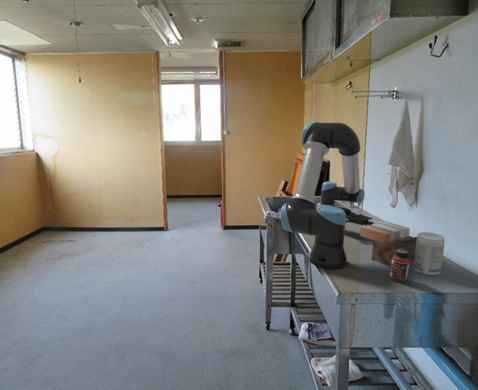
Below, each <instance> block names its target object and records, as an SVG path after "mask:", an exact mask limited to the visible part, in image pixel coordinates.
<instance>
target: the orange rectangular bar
mask: <svg viewBox="0 0 478 390" xmlns="http://www.w3.org/2000/svg"><path fill="white" fill-rule="evenodd" d="M359 232H360V233H359V236H361V237H363V238H365V239H366V238H367V239H369V240H373V241H378V242H381V243H388V242H390V235H391V233H390V232H386V231H383V230H380V229H376V228H373V227H371V226H369V225H367V226H365V225H362V226H360V231H359Z"/></svg>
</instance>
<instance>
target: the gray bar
mask: <svg viewBox="0 0 478 390" xmlns="http://www.w3.org/2000/svg"><path fill="white" fill-rule="evenodd" d="M370 227H373V228H376V229H380V230H383V231H386V232H390V233H391V235H390V240H393V241H395V240H399V239H400V231H401V230H397V229H394V228H390V227H387V226H383V225H380V224H372V225H371V226H370Z"/></svg>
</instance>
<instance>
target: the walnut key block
mask: <svg viewBox="0 0 478 390" xmlns="http://www.w3.org/2000/svg"><path fill="white" fill-rule="evenodd" d="M416 241H417V236H414V237H413V236H410V235H409V237H406V238H401V237H400V239H399V240H395V241H393V240H390V242H388V243H381V242H378V241H375V240H373V242H372V243H373V244H372V251H371V260H372V261H374V262H376V263H379V264H381V265H385V266H386V267H390V268H391V264H392V257H393V255H395V254H396V250H397V249H402V250H406V251H408V257H409V258H410V263H414V259H415V250H416Z"/></svg>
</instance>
